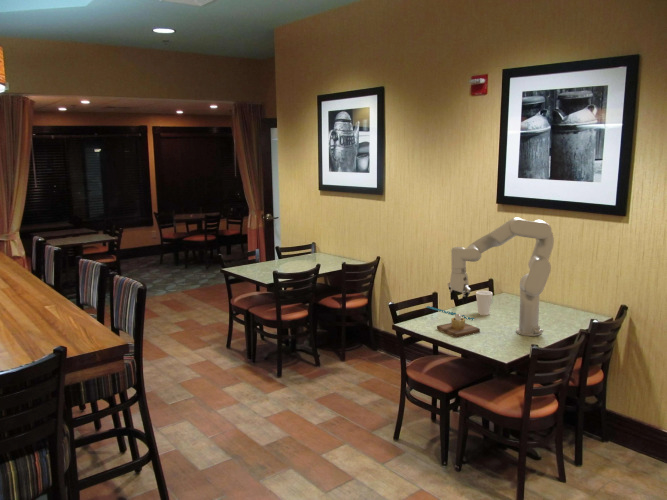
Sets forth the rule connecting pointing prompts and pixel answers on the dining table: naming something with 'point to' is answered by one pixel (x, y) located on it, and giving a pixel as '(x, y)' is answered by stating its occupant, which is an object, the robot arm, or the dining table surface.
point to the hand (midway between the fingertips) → (459, 301)
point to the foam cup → (484, 302)
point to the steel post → (458, 317)
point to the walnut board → (458, 330)
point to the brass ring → (458, 323)
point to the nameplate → (446, 312)
